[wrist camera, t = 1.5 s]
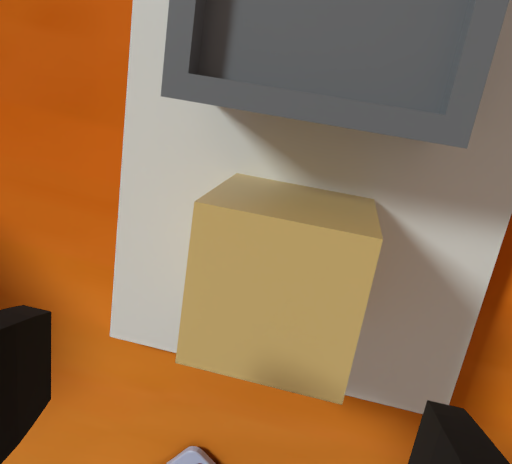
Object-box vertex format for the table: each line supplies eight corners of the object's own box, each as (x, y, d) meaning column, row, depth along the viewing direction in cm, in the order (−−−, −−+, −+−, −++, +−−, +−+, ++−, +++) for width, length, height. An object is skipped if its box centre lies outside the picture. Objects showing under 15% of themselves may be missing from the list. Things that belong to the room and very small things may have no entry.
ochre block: (344, 325, 18) (342, 404, 14) (219, 296, 19) (175, 362, 14) (374, 198, 17) (382, 239, 12) (236, 173, 17) (194, 201, 13)
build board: (439, 403, 19) (444, 419, 19) (120, 325, 21) (109, 336, 20) (628, -186, 13) (649, -208, 13) (162, -221, 15) (149, -241, 14)
